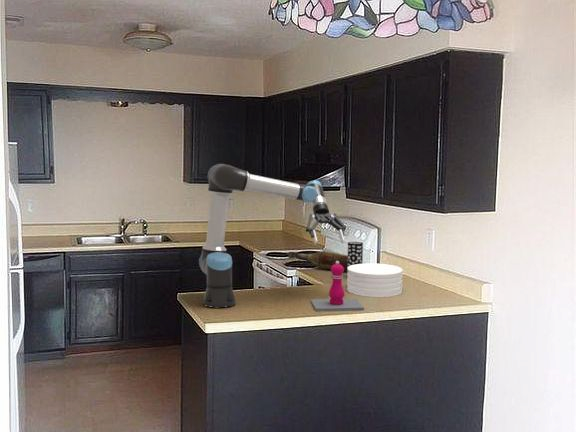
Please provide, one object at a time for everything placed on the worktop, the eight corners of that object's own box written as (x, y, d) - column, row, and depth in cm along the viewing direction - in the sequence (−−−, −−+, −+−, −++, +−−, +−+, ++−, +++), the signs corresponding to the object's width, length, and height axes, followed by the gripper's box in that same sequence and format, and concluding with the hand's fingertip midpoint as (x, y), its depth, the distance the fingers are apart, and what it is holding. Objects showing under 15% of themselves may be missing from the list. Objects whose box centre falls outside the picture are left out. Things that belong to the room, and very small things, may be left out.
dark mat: (315, 311, 273) (315, 308, 273) (310, 301, 289) (310, 299, 289) (363, 310, 275) (363, 307, 275) (356, 301, 291) (356, 298, 291)
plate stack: (345, 296, 301) (346, 273, 300) (348, 283, 329) (348, 262, 328) (403, 298, 298) (403, 275, 296) (400, 285, 325) (401, 264, 324)
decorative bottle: (359, 265, 361) (294, 256, 385) (355, 251, 356) (290, 243, 379) (351, 277, 354) (286, 267, 377) (348, 263, 348) (281, 253, 372)
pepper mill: (332, 305, 277) (332, 262, 275) (326, 301, 284) (327, 259, 282) (346, 304, 280) (347, 262, 277) (340, 300, 286) (341, 259, 284)
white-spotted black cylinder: (360, 280, 335) (361, 244, 333) (345, 279, 338) (346, 243, 336) (363, 277, 343) (364, 242, 341) (349, 276, 346) (349, 241, 343)
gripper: (341, 211, 308) (351, 246, 295) (294, 212, 301) (302, 247, 288) (345, 202, 302) (356, 236, 289) (297, 202, 295) (306, 238, 283)
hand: (329, 242), depth 289 cm, fingers open, 13 cm apart
